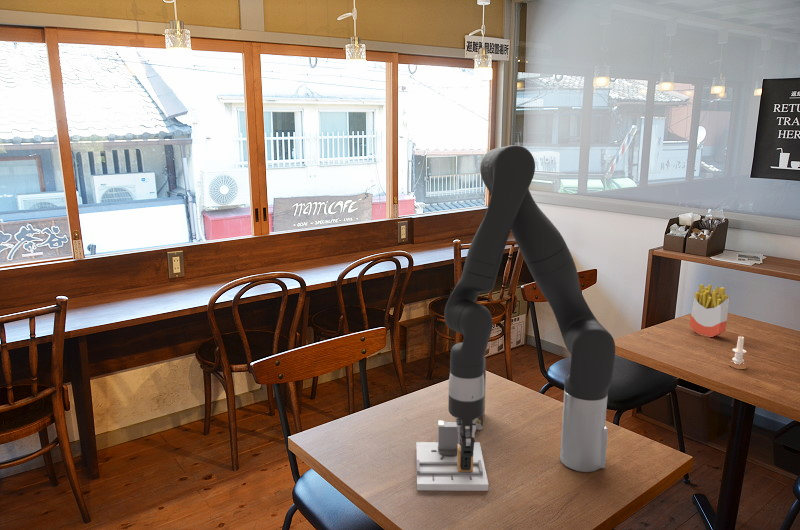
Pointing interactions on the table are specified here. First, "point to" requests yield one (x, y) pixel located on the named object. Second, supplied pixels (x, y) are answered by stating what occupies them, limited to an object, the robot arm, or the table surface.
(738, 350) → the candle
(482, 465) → the board
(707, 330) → the french fries container
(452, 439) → the selector knob
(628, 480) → the table surface
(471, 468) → the fader
